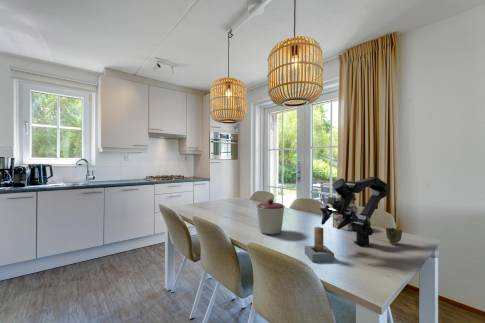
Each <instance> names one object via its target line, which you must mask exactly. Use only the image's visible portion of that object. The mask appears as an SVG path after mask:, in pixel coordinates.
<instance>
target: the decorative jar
mask: <svg viewBox="0 0 485 323" xmlns="http://www.w3.org/2000/svg"><path fill="white" fill-rule="evenodd" d="M349 206H350V209H348V210H352V211H354V212H355V214H359V213H358V212H359V210H358V208H359V207H357V206H356V205H355V204H353V203H351V204H350V205H349ZM341 219H342V215H338V214H334V213H332V227H333V228H336V229H337V227H338V225H339V223H340V221H341ZM340 230H344V231H348V232H349V231H353V230H352V226H351V223H350V224H348V225H346V226H344V227H342V228H341V229H340Z"/></svg>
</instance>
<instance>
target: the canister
mask: <svg viewBox="0 0 485 323" xmlns="http://www.w3.org/2000/svg"><path fill="white" fill-rule="evenodd" d="M255 208H256V209H257V210H256V211H257V218H258V219H257V220H258V225H259V226H258V227H259V231H260V232H261V233H262V234H264V235H271V236H272V235H278V234H280V233H281V232H282V228H283V224H284V222H283V221H284V211H285V209H286V206H285V205H283V204H282V203H280V202H274V200H273V198H269V199H268V200H267V201H266V202H260V203H258V204H256V205H255Z"/></svg>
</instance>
